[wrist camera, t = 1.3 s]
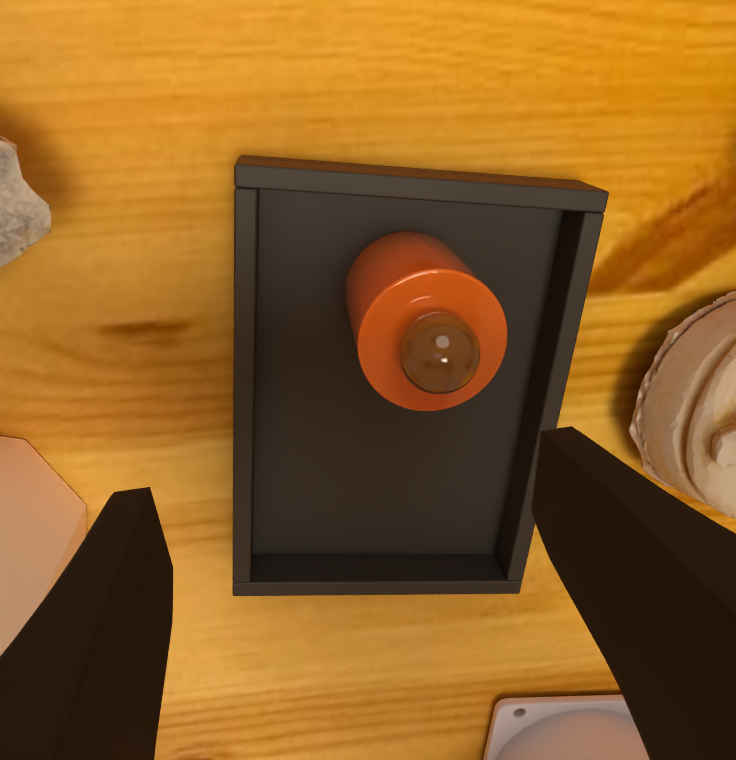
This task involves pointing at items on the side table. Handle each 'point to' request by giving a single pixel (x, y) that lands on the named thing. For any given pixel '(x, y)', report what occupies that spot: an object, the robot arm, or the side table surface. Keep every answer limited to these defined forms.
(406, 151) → the side table surface
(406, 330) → the orange cylinder with knob
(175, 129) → the side table surface
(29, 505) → the mug
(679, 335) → the figurine
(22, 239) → the mineral specimen
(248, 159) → the tray
